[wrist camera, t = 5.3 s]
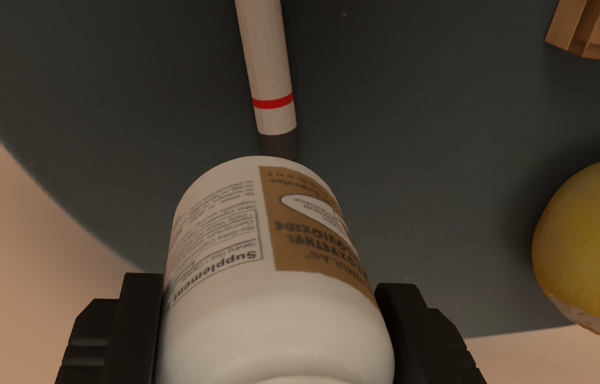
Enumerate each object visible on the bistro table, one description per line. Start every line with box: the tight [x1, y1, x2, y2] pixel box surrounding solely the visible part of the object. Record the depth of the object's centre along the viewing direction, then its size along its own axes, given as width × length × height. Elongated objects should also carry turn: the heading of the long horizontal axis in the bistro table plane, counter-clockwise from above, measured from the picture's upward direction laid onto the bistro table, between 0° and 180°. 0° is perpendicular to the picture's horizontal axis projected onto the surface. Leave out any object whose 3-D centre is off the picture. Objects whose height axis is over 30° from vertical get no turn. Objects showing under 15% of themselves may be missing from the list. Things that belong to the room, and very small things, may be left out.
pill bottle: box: [153, 156, 395, 384], centre depth 10 cm, size 4×4×8 cm
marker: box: [235, 0, 299, 162], centre depth 24 cm, size 15×2×2 cm, turn 7°
